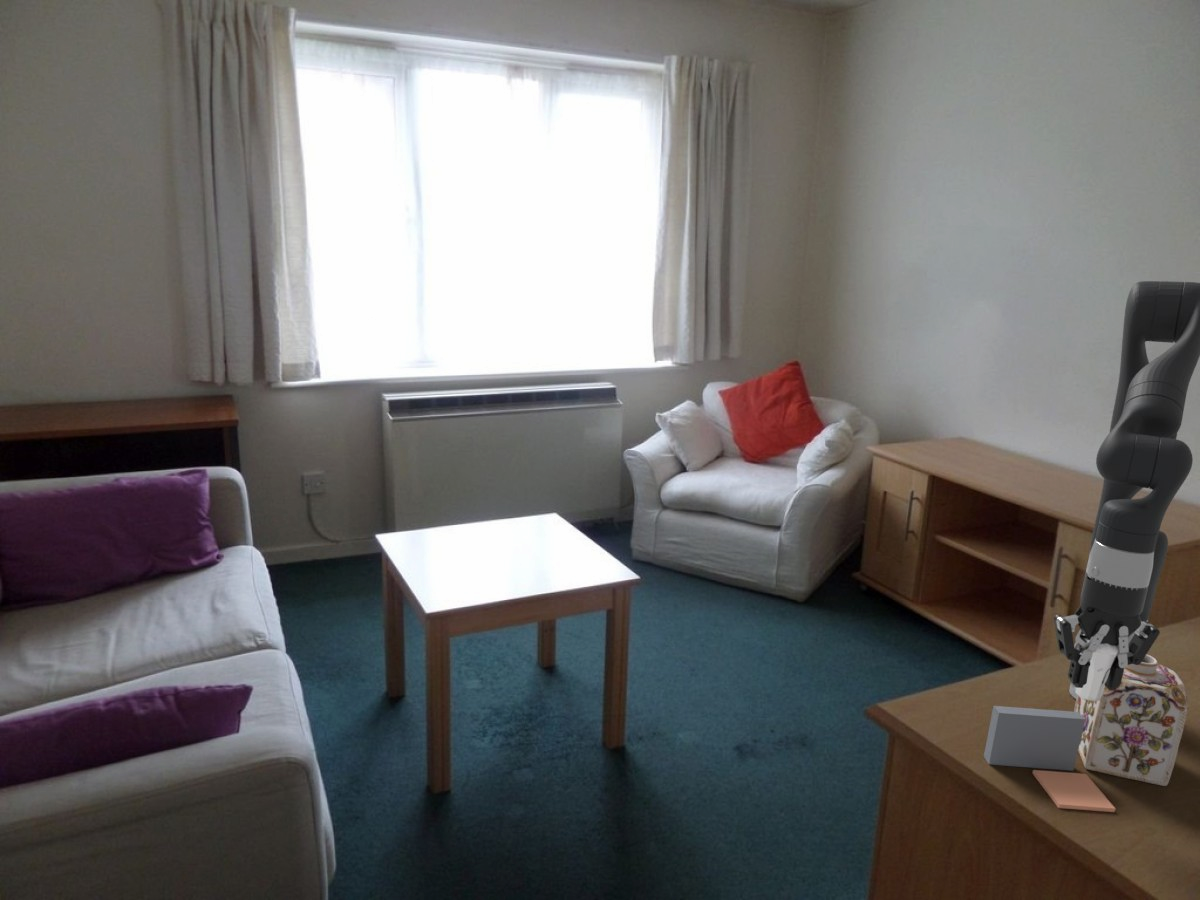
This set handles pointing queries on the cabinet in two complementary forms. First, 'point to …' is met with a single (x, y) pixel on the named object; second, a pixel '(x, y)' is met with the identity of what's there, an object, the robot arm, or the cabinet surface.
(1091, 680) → the milkshake
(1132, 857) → the cabinet surface
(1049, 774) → the mat
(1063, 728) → the screen
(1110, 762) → the decorative jar
